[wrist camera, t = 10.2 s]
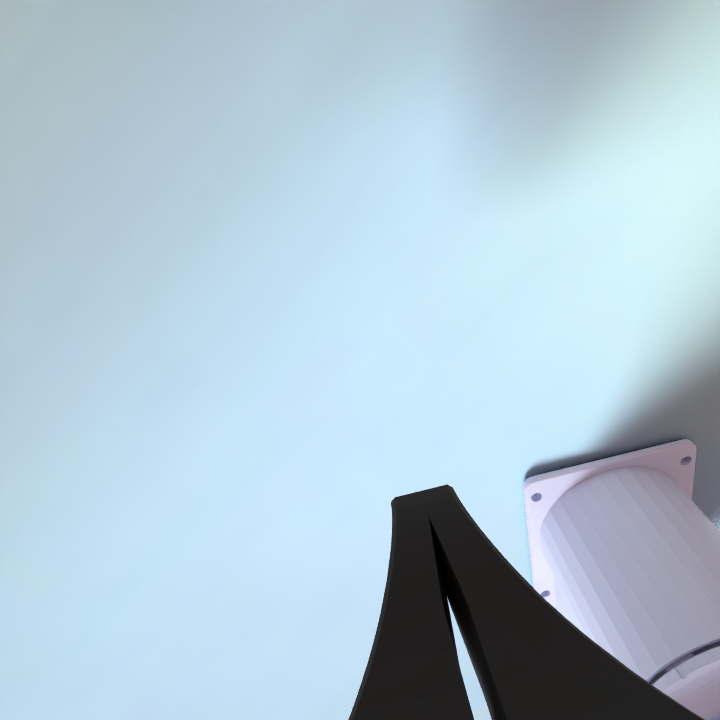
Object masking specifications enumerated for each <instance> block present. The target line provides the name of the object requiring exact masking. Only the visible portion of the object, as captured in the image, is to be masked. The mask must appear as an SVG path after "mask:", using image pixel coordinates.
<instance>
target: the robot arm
mask: <svg viewBox="0 0 720 720" xmlns="http://www.w3.org/2000/svg"><path fill="white" fill-rule="evenodd" d="M696 452H697V447H696V445H695V444H694V443H693V442H692V441H691V440H688V439H683V440H678V441H674V442H670V443H666V444H662V445H658V446H654V447H650V448H646V449H642V450H638V451H634V452H629V453H625V454H621V455H617V456H613V457H609V458H605V459H601V460H597V461H593V462H589V463H585V464H580V465H576V466H572V467H568V468H564V469H560V470H556V471H552V472H548V473H544V474H540V475H536V476H532V477H529V478H528V479H526V480H525V482H524V483H523V494H524V504H525V513H526V523H527V532H528V541H529V551H530V560H531V570H532V579H533V587H532V586H531V585H530V584H529V583H528V582H527V581H526V580H525V579H524V578H523V577H522V576H521V575H520V574H519V573H518V572H517V571H516V570H515V568H514V567H513V566H512V565H511V564H510V563H509V562H508V561H507V560H506V559H505V558H504V556H503V555H502V554H501V553H500V552H499V551H498V549H497V548H496V547H495V546H494V545H493V544H492V542H491V541H490V540H489V539H488V538H487V537H486V535H485V534H484V533H483V532H482V530H481V529H480V528H479V527H478V525H477V524H476V523H475V521H474V520H473V519H472V517H471V516H470V514H469V513H468V512H467V510H466V509H465V507H464V506H463V504H462V503H461V501H460V500H459V498H458V496H457V495H456V493H455V491H454V489H453V487H451V486H449V485H444V486H440V487H436V488H432V489H427V490H423V491H419V492H415V493H411V494H407V495H403V496H399V497H395V498H394V499H393V500H392V502H391V507H392V541H391V552H390V560H389V568H388V576H387V582H386V588H385V593H384V598H383V603H382V608H381V614H380V618H379V623H378V627H377V631H376V635H375V639H374V643H373V646H372V650H371V653H370V657H369V661H368V664H367V667H366V670H365V673H364V676H363V680H362V683H361V686H360V689H359V692H358V695H357V698H356V701H355V704H354V706H353V709H352V712H351V715H350V717H349V720H474V718H473V714H472V710H471V707H470V703H469V700H468V696H467V692H466V689H465V685H464V682H463V678H462V674H461V671H460V667H459V661H458V655H457V650H456V644H455V639H454V633H453V628H452V622H451V616H450V611H449V605H448V600H449V603H450V606H451V608H452V611H453V614H454V616H455V619H456V622H457V624H458V627H459V630H460V632H461V635H462V638H463V640H464V643H465V646H466V648H467V651H468V654H469V656H470V659H471V662H472V664H473V667H474V670H475V672H476V675H477V678H478V680H479V683H480V686H481V688H482V691H483V694H484V697H485V700H486V703H487V706H488V709H489V712H490V715H491V718H492V720H720V531H719V530H718V529H717V528H716V527H715V526H714V524H713V523H712V522H711V521H710V520H709V519H708V518H707V517H706V515H705V514H704V513H703V512H702V511H701V510H700V509H699V508H698V506H697V505H696V504H695V503H694V502H693V501H692V493H693V483H694V473H695V463H696ZM536 493H537V494H536ZM533 494H536V495H534V496H533ZM447 598H448V600H447ZM556 609H558V611H557V610H556Z"/></svg>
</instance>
